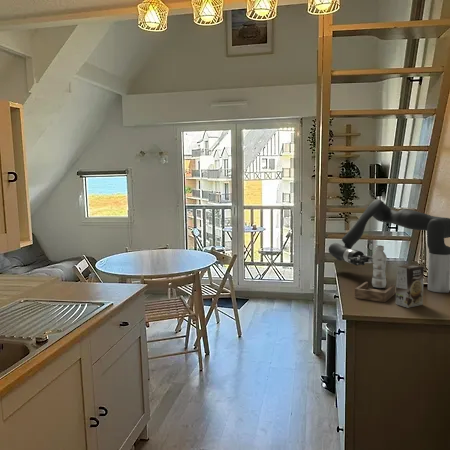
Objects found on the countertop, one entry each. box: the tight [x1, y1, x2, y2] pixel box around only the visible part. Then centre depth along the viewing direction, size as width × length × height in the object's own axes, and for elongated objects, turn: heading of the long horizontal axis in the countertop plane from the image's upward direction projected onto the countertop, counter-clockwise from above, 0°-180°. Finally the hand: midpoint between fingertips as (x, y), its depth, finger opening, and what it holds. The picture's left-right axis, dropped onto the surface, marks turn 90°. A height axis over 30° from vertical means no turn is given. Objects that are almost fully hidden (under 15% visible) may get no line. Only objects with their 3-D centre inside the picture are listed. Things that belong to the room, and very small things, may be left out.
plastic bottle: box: [371, 245, 388, 289], centre depth 204 cm, size 6×7×20 cm
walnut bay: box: [354, 281, 396, 303], centre depth 191 cm, size 13×15×4 cm
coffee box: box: [395, 263, 425, 309], centre depth 177 cm, size 9×6×16 cm
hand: (371, 262), depth 209 cm, fingers open, 8 cm apart
